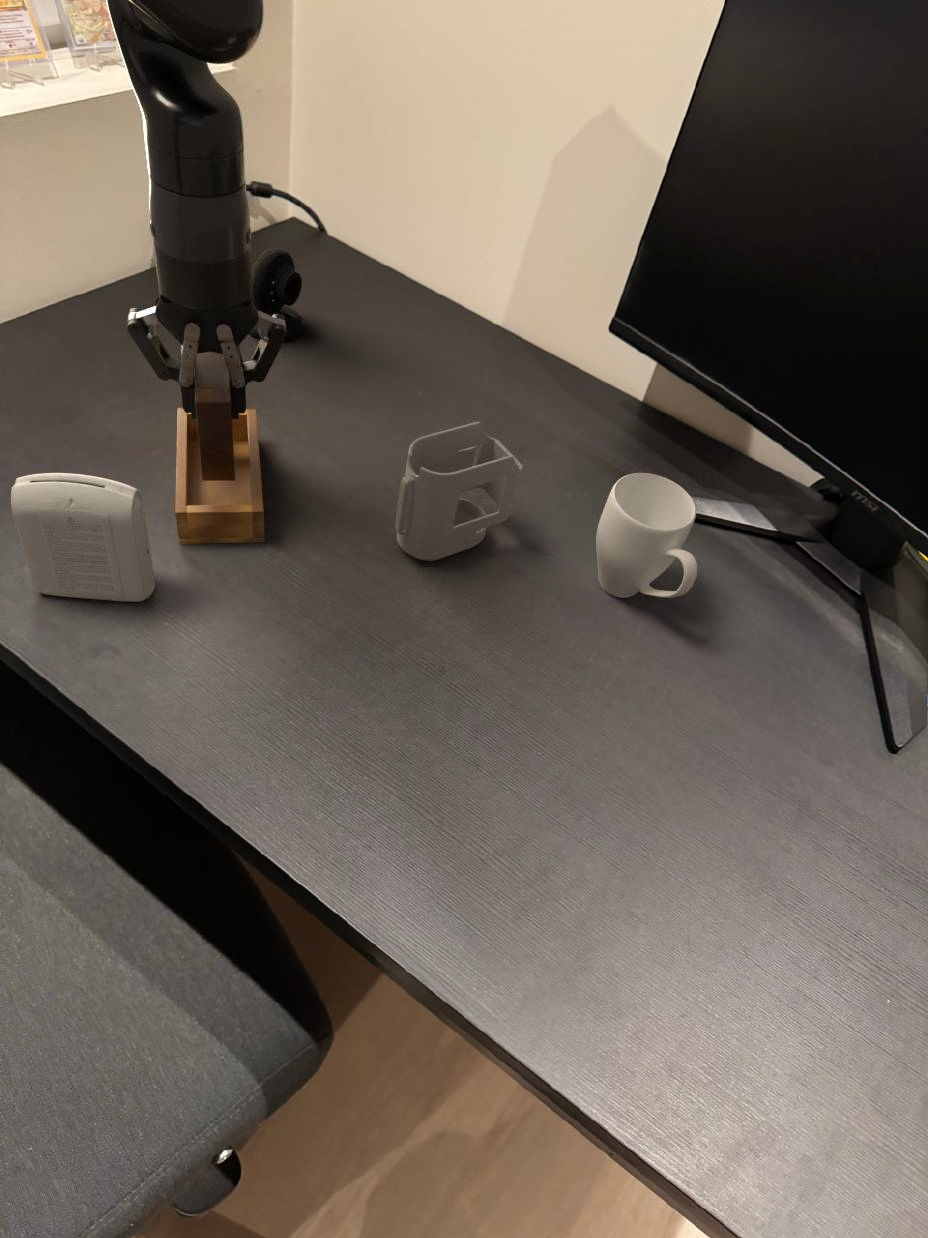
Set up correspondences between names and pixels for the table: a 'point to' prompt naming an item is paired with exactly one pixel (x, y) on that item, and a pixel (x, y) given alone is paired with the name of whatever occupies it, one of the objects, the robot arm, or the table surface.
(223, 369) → the brown wooden box
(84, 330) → the table surface
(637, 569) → the mug
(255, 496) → the holder
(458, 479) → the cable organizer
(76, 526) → the photo printer
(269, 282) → the webcam
